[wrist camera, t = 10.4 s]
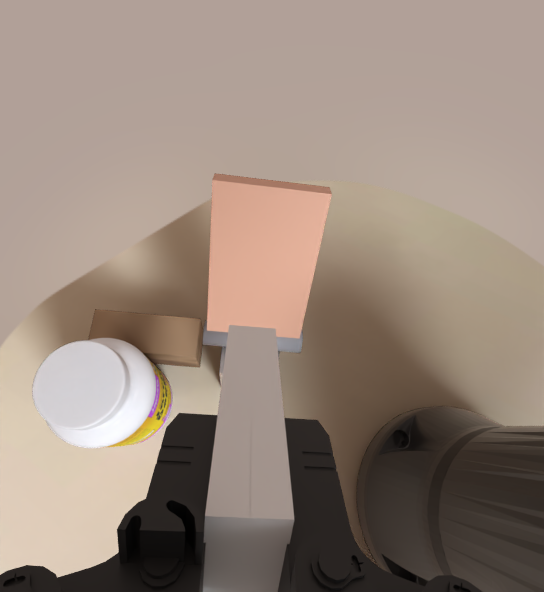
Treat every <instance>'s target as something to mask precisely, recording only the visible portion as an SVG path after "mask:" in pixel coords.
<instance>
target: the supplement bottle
mask: <svg viewBox="0 0 544 592" xmlns="http://www.w3.org/2000/svg"><path fill="white" fill-rule="evenodd" d="M32 396H33V400H34V404H35V407H36V409H37V411H38V412H39V414H40V415H41V416H42V417H43V418H44V419H45V421H46V423H47V425H48V426H49V428H50V429H51V430H52V431H53V432H54V434H56V435H57V436H58V437H59V438H60V439H62V440H63V441H65V442H67V443H69V444H72V445H74V446H77V447H82V448H104V447H115V446H126V445H133V444H138V443H141V442H143V441H146V440H148V439H149V438H151V437H152V436H154V435H155V434H156V433H157V432H158V431H159V430H160V429H161V428H162V427H163V426H164V424H165V423H166V421H167V419H168V417H169V415H170V413H171V409H172V402H173V396H172V390H171V386H170V384H169V382H168V380H167V378H166V377H165V376H164V374H163V373H162V372H161V371H160V370H159V369H158V368H157V367H156V366H155V365H154V364H153V363H152V362H151V361H150V360H149V359H148V358H147V357H146V356H145V355H144V354H143V353H142V352H141V351H140V350H139V349H137V348H136V347H135V346H133V345H131V344H129V343H127V342H125V341H122V340H119V339H114V338H97V339H91V340H82V341H75V342H71V343H68V344H66V345H63V346H61V347H59V348H58V349H56V350H55V351H53V352H52V353H51V354H50V355H49V356H48V357H47V358H46V359H45V360H44V361H43V363H42V364H41V365H40V367H39V369H38V370H37V372H36V375H35V378H34V381H33V390H32Z"/></svg>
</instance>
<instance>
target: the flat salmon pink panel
mask: <svg viewBox="0 0 544 592" xmlns="http://www.w3.org/2000/svg"><path fill="white" fill-rule="evenodd" d="M331 195H332V193H331V191H330V188H329V187H322V186H314V185H306V184H298V183H289V182H281V181H273V180H265V179H256V178H248V177H240V176H231V175H223V174H214V178H213V182H212V208H211V234H210V260H209V286H208V312H207V320H205V324H204V331H203V345H212V346H224V347H226V346H227V338H228V330H229V325H236V326H249V327H261V328H274V329H276V338H277V348H278V351H284V352H295V353H300V352H301V348H302V341H303V332H302V326H303V321H304V317H305V312H306V308H307V303H308V299H309V294H310V290H311V285H312V281H313V276H314V272H315V267H316V263H317V258H318V254H319V249H320V245H321V240H322V236H323V231H324V227H325V222H326V218H327V213H328V209H329V204H330V200H331Z"/></svg>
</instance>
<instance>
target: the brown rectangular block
mask: <svg viewBox="0 0 544 592" xmlns="http://www.w3.org/2000/svg"><path fill="white" fill-rule="evenodd" d="M97 338H114V339H119V340H122V341H125V342H127V343H129V344H131V345H133V346H135V347H136V348H137V349H139V350H140V351H141V352H142V353H143V354H144V355H145V356H146V357H147V358H148V359H149V360H150V361H151V362H152V363H153V364H164V365H177V366H189V367H200V362H201V354H202V346H203V328H202V323H201V319H197V318H186V317H175V316H164V315H152V314H141V313H130V312H119V311H108V310H97V309H95V313H94V317H93V322H92V326H91V330H90V335H89V339H88V340H91V339H97Z"/></svg>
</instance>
